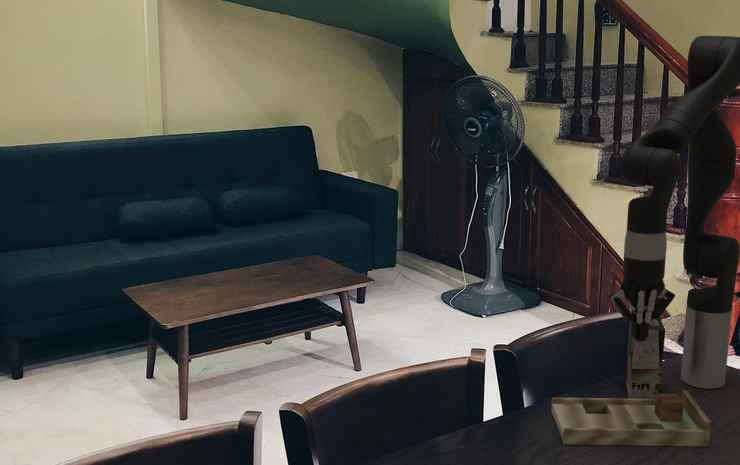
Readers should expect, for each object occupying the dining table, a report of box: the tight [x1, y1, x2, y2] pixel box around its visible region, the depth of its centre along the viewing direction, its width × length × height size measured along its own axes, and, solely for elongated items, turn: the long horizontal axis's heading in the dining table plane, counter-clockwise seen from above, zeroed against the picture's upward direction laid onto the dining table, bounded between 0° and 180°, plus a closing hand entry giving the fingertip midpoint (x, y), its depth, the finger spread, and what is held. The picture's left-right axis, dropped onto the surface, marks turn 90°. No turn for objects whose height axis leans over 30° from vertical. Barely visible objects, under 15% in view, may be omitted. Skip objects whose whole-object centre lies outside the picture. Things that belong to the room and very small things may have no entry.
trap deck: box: [550, 389, 712, 448], centre depth 171 cm, size 27×15×5 cm, turn 88°
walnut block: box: [654, 393, 684, 422], centre depth 172 cm, size 4×4×4 cm
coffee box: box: [625, 316, 667, 399], centre depth 186 cm, size 9×6×16 cm
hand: (639, 339), depth 168 cm, fingers closed
